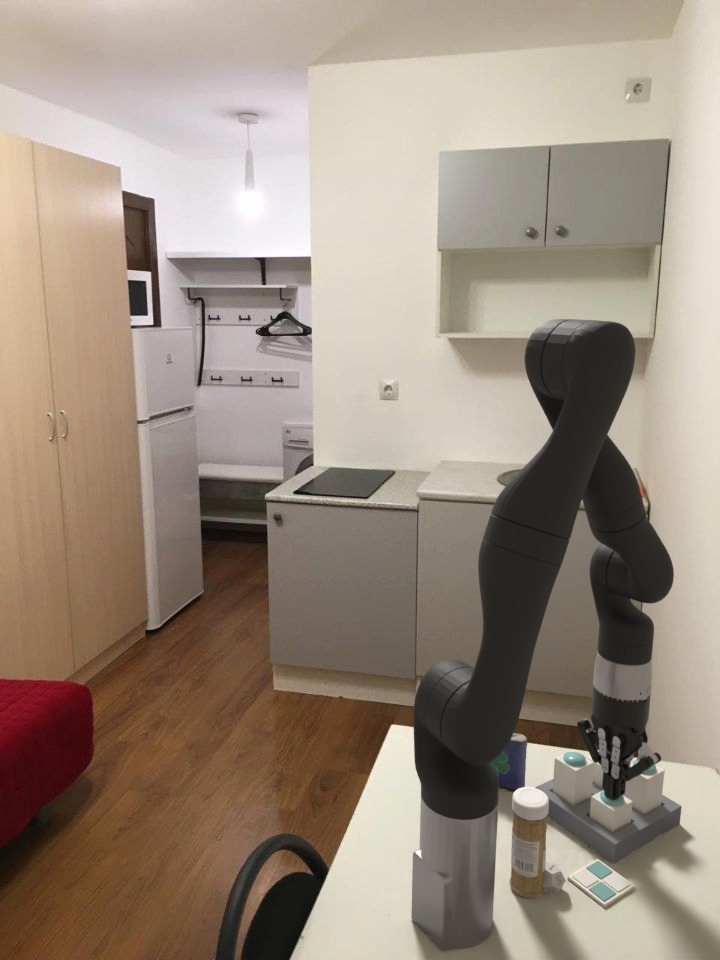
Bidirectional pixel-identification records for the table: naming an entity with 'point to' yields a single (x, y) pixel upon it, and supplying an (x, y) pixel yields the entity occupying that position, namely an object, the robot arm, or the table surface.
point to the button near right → (611, 811)
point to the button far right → (646, 789)
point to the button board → (603, 839)
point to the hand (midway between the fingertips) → (613, 796)
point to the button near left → (573, 777)
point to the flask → (512, 764)
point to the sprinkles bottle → (528, 841)
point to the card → (601, 882)
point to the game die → (553, 878)
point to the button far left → (597, 773)
